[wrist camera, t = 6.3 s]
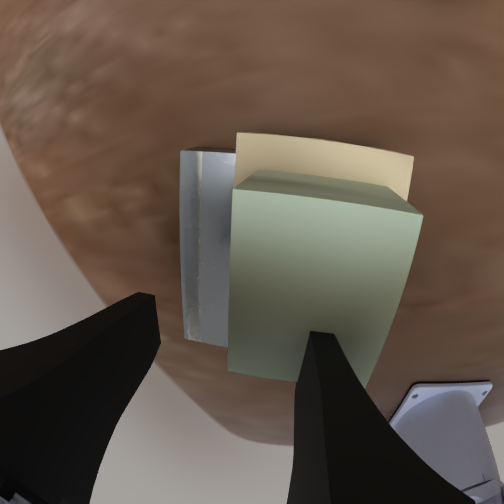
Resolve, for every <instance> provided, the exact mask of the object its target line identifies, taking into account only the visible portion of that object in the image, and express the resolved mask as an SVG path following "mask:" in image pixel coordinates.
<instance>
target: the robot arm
mask: <svg viewBox="0 0 504 504" xmlns="http://www.w3.org/2000/svg"><path fill="white" fill-rule="evenodd" d="M160 344H161V340H160V333H159V326H158V318H157V310H156V302H155V295H151V294H146V293H141V292H138V293H135V294H133V295H131V296H129V297H126V298H124V299H123V300H121V301H119V302H117V303H115V304H113V305H111V306H109V307H107V308H105V309H103V310H101V311H99V312H97V313H96V314H94V315H92V316H90V317H88V318H86V319H84V320H82V321H80V322H77V323H76V324H74V325H71V326H69V327H67V328H65V329H63V330H60V331H58V332H56V333H53V334H51V335H49V336H46V337H43V338H40V339H38V340H35V341H32V342H29V343H26V344H22V345H19V346H15V347H11V348H8V349H4V350H0V504H89V502H90V499H91V495H92V490H93V486H94V483H95V480H96V477H97V473H98V470H99V467H100V464H101V461H102V459H103V456H104V453H105V451H106V448H107V446H108V443H109V441H110V439H111V436H112V434H113V432H114V429H115V427H116V424H117V423H118V421H119V419H120V417H121V415H122V413H123V412H124V410H125V408H126V407H127V405H128V403H129V402H130V400H131V398H132V397H133V395H134V394H135V392H136V390H137V389H138V387H139V385H140V384H141V382H142V380H143V379H144V377H145V375H146V374H147V372H148V370H149V369H150V367H151V365H152V363H153V360H154V358H155V356H156V353H157V351H158V349H159V346H160ZM492 386H493V385H492V383H491V382H474V383H450V384H416V385H414V386H413V387H412V388H411V389H410V391H409V393H408V394H407V396H406V398H405V399H404V401H403V402H402V404H401V406H400V407H399V409H398V410H397V412H396V413H395V415H394V416H393V418H392V419H391V421H390V422H389V423H388V421H387V420H386V419H385V418H384V416H383V415H382V414H381V412H380V411H379V410H378V408H377V407H376V405H375V404H374V402H373V401H372V400H371V398H370V396H369V395H368V393H367V392H366V390H365V389H364V387H363V386H362V384H361V382H360V381H359V379H358V377H357V376H356V374H355V372H354V370H353V369H352V367H351V365H350V363H349V361H348V360H347V358H346V356H345V354H344V352H343V350H342V348H341V346H340V344H339V342H338V340H337V338H336V336H335V335H334V334H333V333H324V332H316V331H310V333H309V338H308V342H307V346H306V350H305V354H304V358H303V362H302V366H301V370H300V374H299V378H298V381H297V382H296V389H295V407H294V456H293V468H292V475H291V482H290V488H289V493H288V499H287V504H504V483H503V482H502V481H501V480H500V477H499V473H498V469H497V465H496V462H495V458H494V454H493V451H492V448H491V445H490V442H489V438H488V435H487V432H486V429H485V426H484V424H483V421H482V418H481V415H480V412H479V410H478V406H479V405H480V403H481V402H482V401H483V399H484V398H485V397H486V395H487V394H488V393H489V391H490V390H491V388H492Z"/></svg>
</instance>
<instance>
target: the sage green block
mask: <svg viewBox="0 0 504 504" xmlns="http://www.w3.org/2000/svg"><path fill="white" fill-rule="evenodd" d="M413 160H414V156H410V155H407V154H403V153H399V152H395V151H390V150H385V149H380V148H375V147H369V146H367V147H366V146H360V145H354V144H348V143H343V142H339V141H332V140H324V139H317V138H304V137H294V136H284V135H279V134H267V133H252V132H248V133H243V132H240V133H237V140H236V159H235V178H234V188H233V195H232V218H231V244H230V273H229V309H228V357H227V371H229V372H235V373H240V374H245V375H251V376H257V377H263V378H270V379H276V380H283V381H291V382H297V381H298V378H299V374H300V370H301V366H302V362H303V358H304V354H305V350H306V346H307V342H308V338H309V333H310V331H316V332H324V333H333V334H334V335H335V336H336V338H337V340H338V342H339V344H340V346H341V348H342V350H343V352H344V354H345V356H346V358H347V360H348V361H349V363H350V365H351V367H352V369H353V370H354V372H355V374H356V376H357V377H358V379H359V381H360V382H361V384H362V386H363V387H364V388H365V387H366V385H367V383H368V381H369V379H370V377H371V374H372V372H373V370H374V367H375V365H376V363H377V361H378V358H379V356H380V353H381V351H382V348H383V346H384V343H385V341H386V338H387V336H388V333H389V331H390V328H391V325H392V322H393V320H394V317H395V314H396V311H397V308H398V305H399V302H400V299H401V296H402V293H403V290H404V287H405V284H406V281H407V277H408V274H409V271H410V267H411V264H412V260H413V256H414V253H415V249H416V245H417V241H418V237H419V233H420V228H421V224H422V220H423V215H422V214H421V213H420V212H419V211H418V210H416V209H415V208H414V207H413V206H412V205H410V204H409V203H408V202H407V198H408V192H409V186H410V180H411V174H412V167H413Z"/></svg>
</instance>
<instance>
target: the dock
mask: <svg viewBox="0 0 504 504" xmlns="http://www.w3.org/2000/svg"><path fill="white" fill-rule="evenodd" d="M235 159H236V150H235V149H220V148H200V147H196V148H191V149H186V150H181V151H180V263H181V288H182V307H183V323H184V336H185V339H189V340H194V341H198V342H203V343H207V344H212V345H217V346H222V347H227V348H228V309H229V273H230V244H231V218H232V195H233V188H234V178H235Z"/></svg>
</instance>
